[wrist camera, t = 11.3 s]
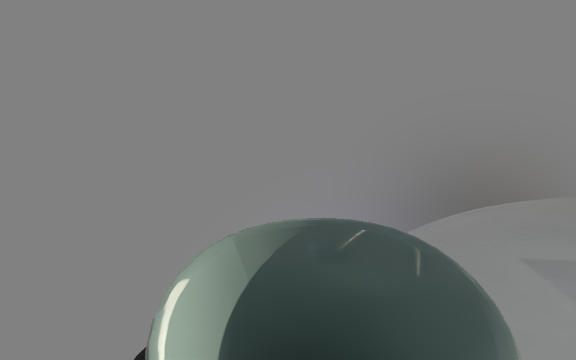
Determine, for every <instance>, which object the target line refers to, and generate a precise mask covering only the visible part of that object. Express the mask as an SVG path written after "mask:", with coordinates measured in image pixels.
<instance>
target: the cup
mask: <svg viewBox="0 0 576 360" xmlns="http://www.w3.org/2000/svg"><path fill="white" fill-rule="evenodd" d="M145 360H521V357H520V354H519V350H518V347H517V344H516V340H515V337H514V335H513V334H512V332H511V330H510V328H509V327H508V325H507V323H506V321H505V320H504V318H503V316H502V314H501V313H500V311H499V309H498V307H497V306H496V304H495V303H494V301H493V300H492V299H491V298H490V296H489V295H488V294H487V293H486V292H485V290H484V289H483V288H482V287H481V286H480V284H479V283H478V282H477V281H476V280H475V279H474V278H473V277H472V276H471V275H470V274H469V273H468V272H466V271H465V270H464V269H463V268H462V267H461V266H460V265H459V264H458V263H457V262H455V261H454V260H453V259H451V258H450V257H448V256H447V255H445V254H444V253H443V252H441V251H440V250H438V249H437V248H435V247H434V246H432V245H430V244H428V243H426V242H424V241H422V240H420V239H419V238H417V237H415V236H412V235H410V234H407V233H404V232H402V231H399V230H397V229H394V228H390V227H386V226H382V225H379V224H375V223H370V222H363V221H357V220H349V219H334V218H307V219H295V220H285V221H279V222H273V223H267V224H263V225H259V226H255V227H252V228H248V229H245V230H242V231H240V232H237V233H234V234H232V235H229V236H227V237H225V238H224V239H222V240H220V241H218V242H216V243H215V244H213V245H211V246H210V247H208V248H207V249H206V250H204V251H203V252H202V253H200V254H199V255H198V256H196V257H195V258H194V259H193V260H192V261H191V262H190V263H189V264H188V265H187V266H186V267H185V268H184V269H183V270H182V271H181V272H180V274H179V275H178V276H177V278H176V279H175V281H174V282H173V283H172V285H171V286H170V288H169V289H168V291H167V292H166V294H165V296H164V298H163V300H162V302H161V304H160V306H159V308H158V311H157V313H156V315H155V317H154V319H153V321H152V325H151V330H150V334H149V338H148V342H147V346H146V351H145Z"/></svg>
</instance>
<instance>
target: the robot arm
mask: <svg viewBox="0 0 576 360" xmlns="http://www.w3.org/2000/svg"><path fill="white" fill-rule="evenodd" d="M145 351H146V348H144V350H142V351H141V352H140V353H139V354H138V355H137V356H136V358H135V359H134V360H145Z"/></svg>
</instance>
